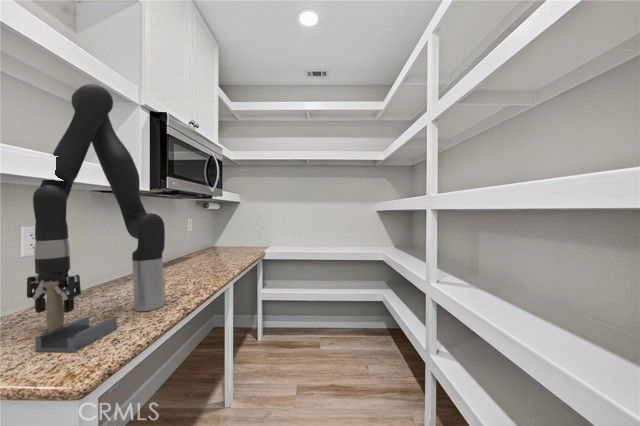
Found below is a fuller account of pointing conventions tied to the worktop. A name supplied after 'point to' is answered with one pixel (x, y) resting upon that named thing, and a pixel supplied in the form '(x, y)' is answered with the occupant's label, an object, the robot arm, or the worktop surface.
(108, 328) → the floor track
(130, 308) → the worktop surface
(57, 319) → the handle
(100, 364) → the worktop surface
